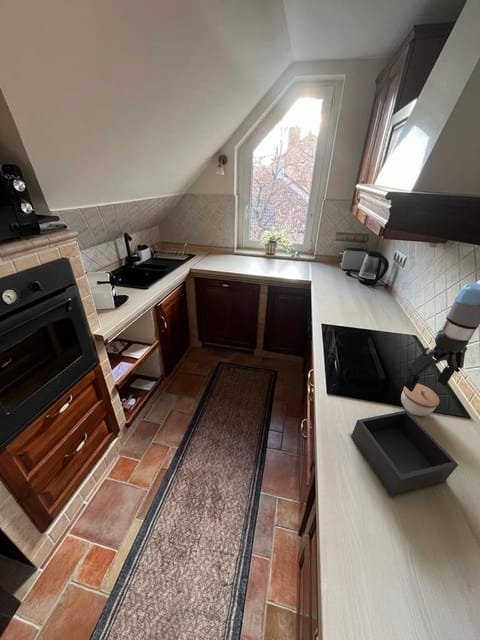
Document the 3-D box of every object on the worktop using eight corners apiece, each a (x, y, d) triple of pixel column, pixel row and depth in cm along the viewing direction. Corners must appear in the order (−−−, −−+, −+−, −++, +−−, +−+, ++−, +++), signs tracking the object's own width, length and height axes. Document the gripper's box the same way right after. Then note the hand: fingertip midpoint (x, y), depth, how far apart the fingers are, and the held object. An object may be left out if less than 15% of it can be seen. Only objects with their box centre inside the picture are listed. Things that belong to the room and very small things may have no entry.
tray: (397, 425, 86) (406, 410, 82) (445, 480, 71) (458, 464, 67) (351, 435, 82) (357, 419, 78) (390, 495, 67) (401, 479, 63)
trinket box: (393, 395, 98) (401, 377, 93) (423, 400, 96) (434, 382, 91) (401, 417, 89) (411, 399, 84) (435, 424, 87) (448, 405, 82)
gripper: (474, 324, 81) (444, 373, 92) (409, 331, 76) (386, 383, 87) (499, 337, 75) (464, 388, 86) (430, 346, 70) (402, 399, 81)
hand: (425, 385), depth 87 cm, fingers open, 13 cm apart
